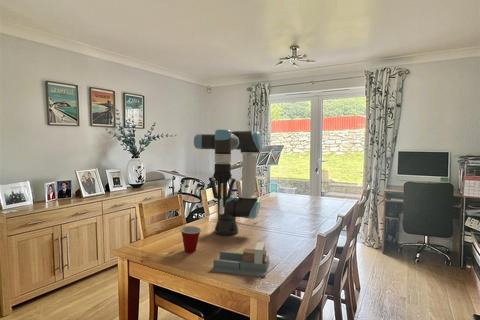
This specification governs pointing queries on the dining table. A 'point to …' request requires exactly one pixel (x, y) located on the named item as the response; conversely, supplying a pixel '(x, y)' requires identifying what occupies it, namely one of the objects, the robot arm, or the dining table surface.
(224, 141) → the robot arm
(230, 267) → the grey grooved base
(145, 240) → the dining table surface
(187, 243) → the plastic cup
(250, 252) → the brown rectangular block
